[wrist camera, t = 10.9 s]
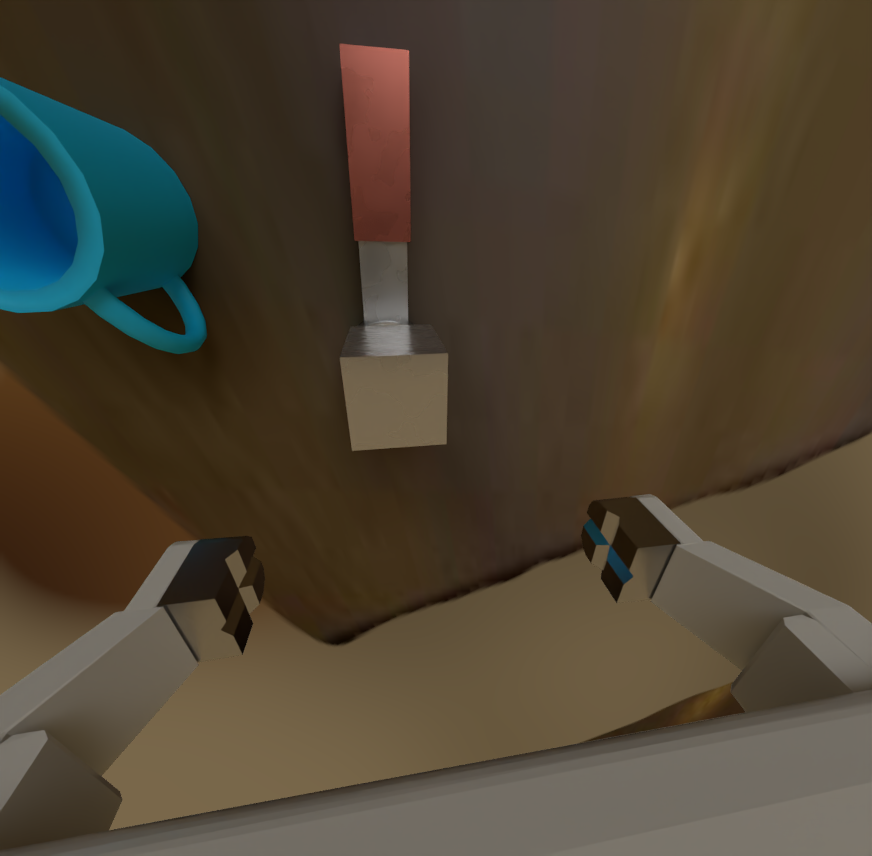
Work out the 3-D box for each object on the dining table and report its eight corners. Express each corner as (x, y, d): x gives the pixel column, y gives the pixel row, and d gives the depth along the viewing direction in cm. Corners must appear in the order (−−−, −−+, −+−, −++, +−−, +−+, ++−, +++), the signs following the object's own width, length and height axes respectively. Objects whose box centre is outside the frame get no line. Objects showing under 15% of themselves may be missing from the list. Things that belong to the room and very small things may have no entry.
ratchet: (316, 64, 18) (286, -16, 12) (431, 74, 19) (453, 3, 13) (350, 395, 27) (341, 436, 21) (427, 392, 28) (439, 432, 22)
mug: (-10, 175, 18) (-259, 134, 11) (106, 82, 17) (-86, -27, 10) (177, 363, 24) (91, 416, 17) (273, 302, 23) (225, 330, 16)
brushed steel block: (350, 326, 22) (339, 357, 16) (430, 324, 22) (448, 353, 16) (359, 400, 24) (352, 450, 18) (431, 396, 24) (446, 444, 19)
